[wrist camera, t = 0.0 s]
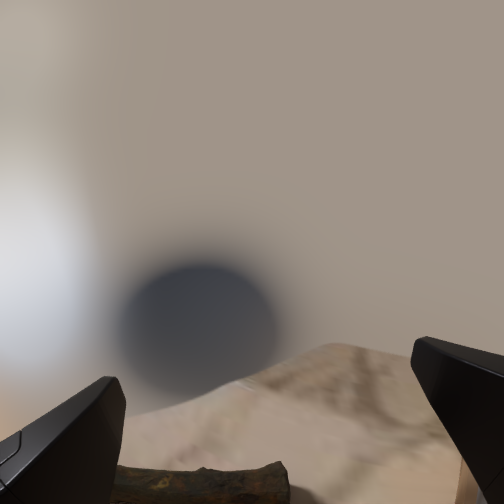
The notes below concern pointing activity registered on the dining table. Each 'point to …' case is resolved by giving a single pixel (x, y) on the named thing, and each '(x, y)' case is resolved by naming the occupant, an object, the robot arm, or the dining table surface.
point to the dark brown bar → (202, 486)
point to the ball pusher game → (468, 488)
